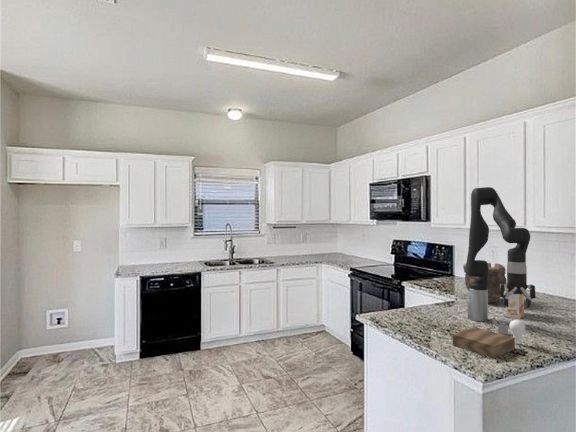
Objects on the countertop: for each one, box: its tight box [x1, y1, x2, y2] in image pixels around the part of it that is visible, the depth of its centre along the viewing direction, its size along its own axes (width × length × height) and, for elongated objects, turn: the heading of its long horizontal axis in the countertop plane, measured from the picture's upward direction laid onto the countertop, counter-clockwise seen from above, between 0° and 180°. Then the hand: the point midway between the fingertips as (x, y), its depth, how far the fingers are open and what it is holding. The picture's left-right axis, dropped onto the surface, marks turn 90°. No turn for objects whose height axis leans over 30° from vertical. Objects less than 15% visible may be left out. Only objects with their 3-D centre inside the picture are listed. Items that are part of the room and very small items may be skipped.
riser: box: [452, 326, 516, 359], centre depth 158 cm, size 18×18×5 cm
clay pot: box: [462, 262, 507, 304], centre depth 238 cm, size 26×26×25 cm
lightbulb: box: [508, 319, 526, 345], centre depth 161 cm, size 6×6×11 cm
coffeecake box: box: [505, 283, 525, 320], centre depth 206 cm, size 15×7×20 cm, turn 137°
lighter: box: [490, 315, 509, 336], centre depth 176 cm, size 7×2×8 cm, turn 60°
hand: (517, 307), depth 161 cm, fingers open, 8 cm apart
